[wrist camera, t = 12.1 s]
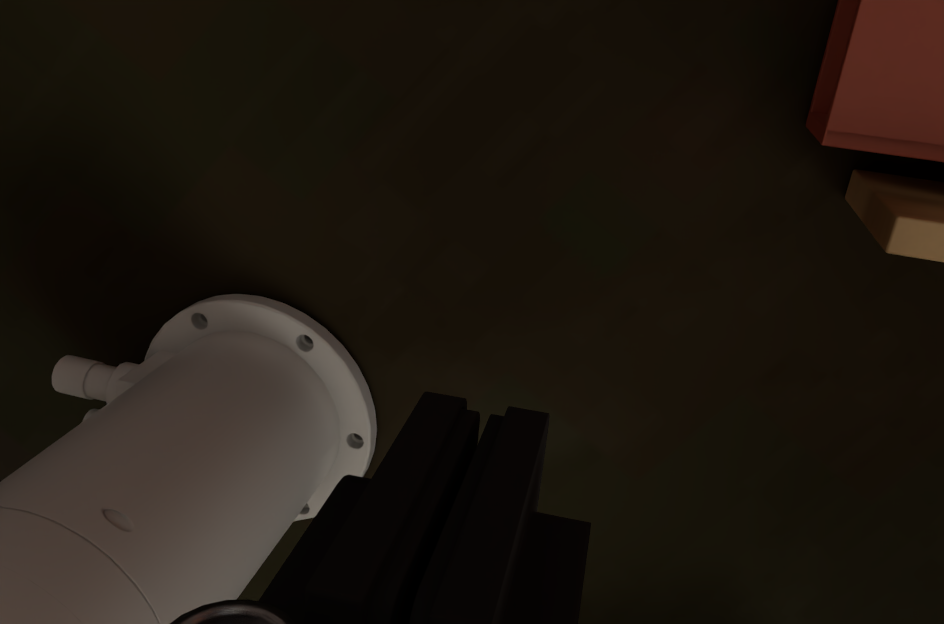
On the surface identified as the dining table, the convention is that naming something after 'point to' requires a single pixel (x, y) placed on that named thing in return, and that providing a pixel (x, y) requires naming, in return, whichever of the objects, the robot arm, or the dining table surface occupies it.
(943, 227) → the wooden tray box
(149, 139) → the dining table surface
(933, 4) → the book
